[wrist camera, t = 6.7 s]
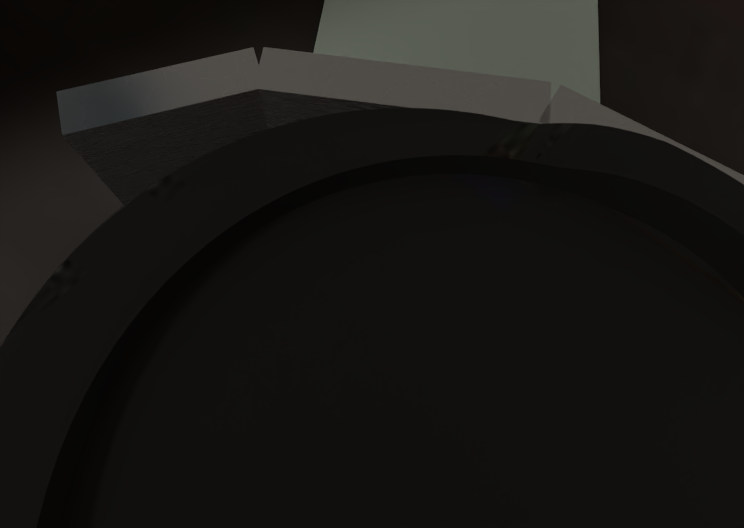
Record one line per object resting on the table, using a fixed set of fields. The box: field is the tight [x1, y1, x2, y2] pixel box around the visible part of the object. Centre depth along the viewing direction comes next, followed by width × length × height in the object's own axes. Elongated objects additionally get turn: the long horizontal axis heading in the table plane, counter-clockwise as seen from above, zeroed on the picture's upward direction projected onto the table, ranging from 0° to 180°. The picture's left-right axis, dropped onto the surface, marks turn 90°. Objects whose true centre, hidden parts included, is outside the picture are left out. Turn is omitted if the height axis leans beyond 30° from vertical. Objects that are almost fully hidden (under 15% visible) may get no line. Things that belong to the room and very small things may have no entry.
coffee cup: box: [0, 108, 744, 528], centre depth 10 cm, size 9×9×15 cm
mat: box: [313, 0, 600, 104], centre depth 24 cm, size 12×12×1 cm
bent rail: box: [56, 47, 744, 205], centre depth 18 cm, size 20×4×5 cm, turn 82°
